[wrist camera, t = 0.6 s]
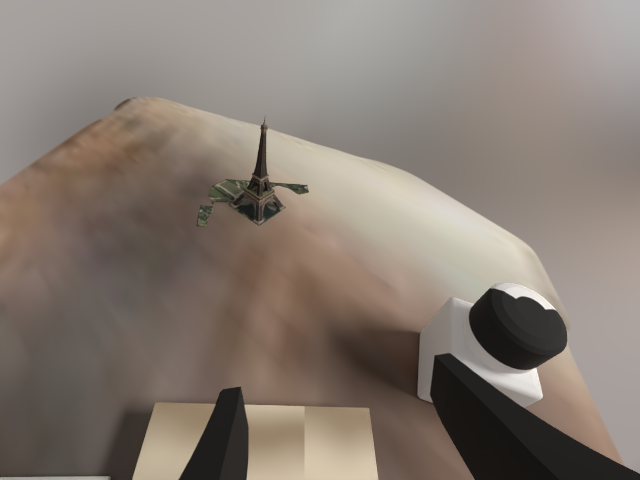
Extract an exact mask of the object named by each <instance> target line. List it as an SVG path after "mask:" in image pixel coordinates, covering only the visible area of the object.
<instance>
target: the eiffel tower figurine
mask: <svg viewBox="0 0 640 480" xmlns="http://www.w3.org/2000/svg"><path fill="white" fill-rule="evenodd" d="M264 121H265V120H264ZM260 129H261V137H260V144H259V151H258V157H257V162H256V167H255V171H254V173H253V174H252V175H253V177H252V179H251V181H244V180H228V179H226V180H224V181H222V182H220V183H219V184H217V185H214V186H212V188H211V189H210V190H209V197H210V199H211V202H212V204H214V202H228V201H234V200H235V201H234V202H233V203H231V204H229V205H230V206H231V207H232V208H234V209H235V210H237V211H238V212H240V213H241V214H243V215H244V216H245V217H247V218H248V219H250V220H251V221H253V222H254V223H255V224H257V225H258V226H259V225H261V224H262V223H264V222H265V221H267V220H268V219H270V218H271V217H273V216H274V215H276V214H277V213H278V212H280V211H281V210H283V209H284V208H286V207H285V206H283V205H282V203H281V202H280V201H279V199H278V198H277V197H276V195H275V194H274V189H272V187H275V186H278V185H279V186H282V187H286V188H289V189H291V190H292V191H294V192H295V193H297V194H304V193H308V192H309V191H308V186H307V185H300V184H284V183H271V182H269V180H268V176H269V175H268V174H267V168H266V131H267V130H268V128H267V125H265V122H264V123H263V125H261V128H260ZM213 211H214V210H213V207H212V206H203V205H200V212H199V219H198V225H197V226H205V227H206V225H207V218H208V217H209V215H208V214H211V213H212V212H213Z"/></svg>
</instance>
